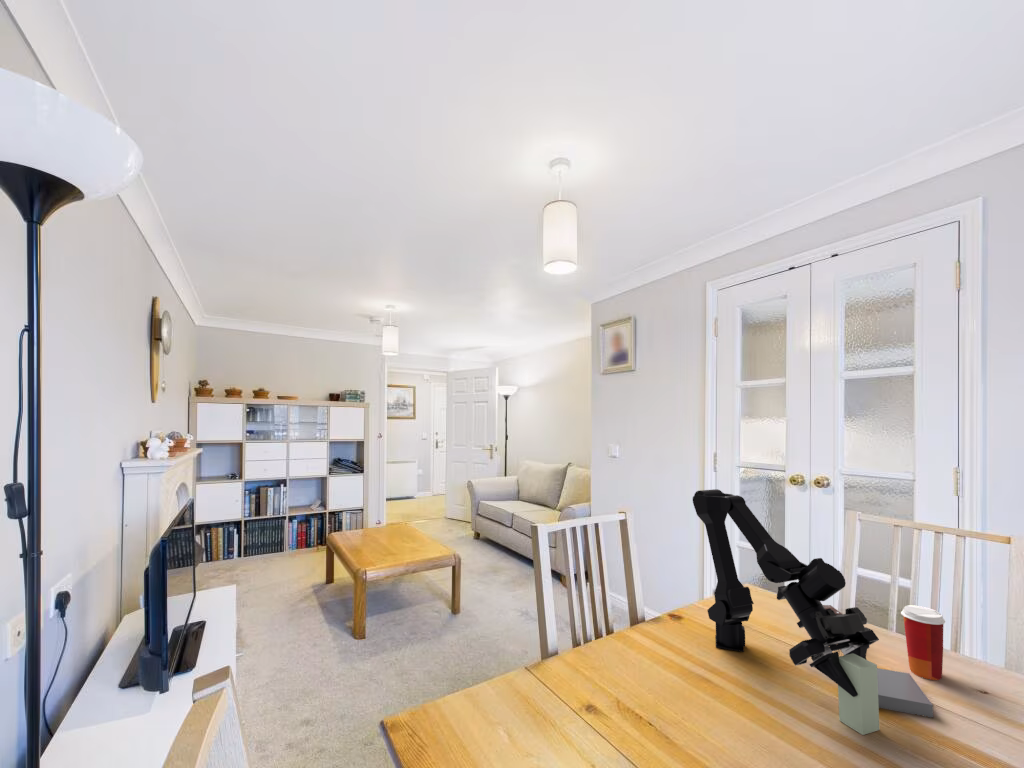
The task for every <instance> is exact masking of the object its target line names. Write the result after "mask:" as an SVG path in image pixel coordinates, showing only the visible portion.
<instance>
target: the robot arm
mask: <svg viewBox="0 0 1024 768" xmlns="http://www.w3.org/2000/svg"><path fill="white" fill-rule="evenodd" d="M692 503H693V508H694V511H695V512H696V516H697V517H698V518H699V519H700V520H701V521H702V523H704V526H705V530H706V535H707V539H708V543H709V548H710V551H711V556H712V562H713V565H714V570H715V574H716V579H717V583H716V586H715V589H714V604H712V605H711V606H710V607H709V608H708V609H707V614H708V619H709V620H711V621H713V622H715V635H714V636H715V639H714V640H715V648H717V649H718V648H719V649H724V650H730V651H734V652H740V653H741V652H743V653H744V652H745V649H744V648H745V647H746V628H745V626H744V625H743V622H749V619H750V615H751V613H752V612H753V611H754V610H753V605H754V604H755V603H754V601H753V600H752V595H751V589H750V587H749V586H744V585H743V584H742V582H741V581H740V580H739V578H738V574H737V568H736V566H735V561H734V556H733V552H732V548H731V544H730V539H729V535H728V531H727V527H726V519H727V516H729V517H730V519H731V520H732V522H734V524H735V525H736V527H737V528H738V530H739V531H740V532H741V534H742V535H743V536H744V538H745V539H746V540H747V542H748V543H749V544H750V546H751V547H752V549H753V550H754V552H755V554H756V563H757V564H758V567H759V568H760V570H761V571H762V574H763V576H764V577H765V578H766V580H768V581H769V582H771V583H774V584H780V583H786V582H787V583H788V582H789V583H788V584H787V585H780V586H777V593H776V599H777V601H781V600H786V601H787V603H788V604H789V606H790V608H791V609H792V610H793V612H794V613H795V616H796V617H797V618H798V620H799V621H798V622H796V624H797V626H798V628H799V629H802V628H804V629H805V631H806V632H807V634H808V635H809V637H810V638H809V639H805V640H801V641H800V642H798V643H797V644H796V645H794V646H792V647H791V648H789V649H788V651H789V657H790V660H791V661H792V663H793V664H794V666H795V667H797V666H800V665H805V664H807V663H808V660H809V658H811V661H812V662H811V663H810V664H809V666H810V667H811V668H815V669H816V670H818V671H819V672H820V673H822V674H823V675H825V676H826V677H827V678H828V679H830V680H831V681H833V682H834V683H835V684H836V685H837V686H838V685H839V686H840V687H841V688H843V689H844V690H845V691H846V692H848V693H849V694H850V695H851V696H853V697H856V696H858V693H857V691H856V690H855V688H854V686H853V684H852V682H851V681H850V679H849V678H848V676H847V674H846V673H845V671H844V669H843V668H842V666H841V664H840V662H839V657H840V654H839V651H841V652H842V654H843V656H844V655H848V654H852V653H854V654H856V655H858V656H860V657H862V658H864V659H866V660H867V651H868V649H870V646H871V645H873V644H874V643H876V642H879V640H880V639H879V637H878V636H877V634H876V633H875V631H874V630H873V629H871V628H869V627H865V625H867V623H868V618H867V617H866V616H865V614H864V613H863V612H862V610H860V608H859V607H858V606H856V607H849V608H845V613H842V614H841V615H836V614H835V613H834V611H833V610H831V609H830V608H829V609H825V608H824V606H823V605H824V604H822V602H825V601H827V600H829V599H830V598H831V597H832V596H834V595H836V594H837V593H838V592H839V591H841V590H844V588H845V587H846V583H847V582H846V578H845V577H844V575H843V574H842V572H841V571H840V570H838V569H837V568H836V567H834V566H833V565H831V564H830V563H827V562H825V561H824V560H823V558H822V557H819V558H813V559H812V560H811V561H810V562H809V563H808V564H806V563H803V562H802V561H800V560H799V559H798V558H797V557H796V556H795V555H794V554H793V553H792V552H791V551H790V550H789V549H788V548H787V547H786V546H783V545H781V544H780V543H778V542H776V541H775V539H774V538H772V536H771V534H770V533H769V532H768V531H767V529H766V528H765V527H764V526H763V524H762V523H761V522H760V520H759V519H758V518H757V517H756V515H755V514H754V513H753V512H752V510H751V509H750V508H749V506H748V505H747V504H746V500H745V498H744V497H742V496H740V495H734V494H732V493H724V492H723V491H722V490H720V489H701V490H697V491H695V493H694V495H693V496H692ZM791 581H792V582H791ZM797 581H798V582H797Z"/></svg>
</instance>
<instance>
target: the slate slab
mask: <svg viewBox="0 0 1024 768" xmlns="http://www.w3.org/2000/svg"><path fill="white" fill-rule="evenodd" d="M877 681H878V704H879V709H885V710H890V711H895V712H901V713H906V714H910V715H915V714H917V716H920V715H922V717H926V716H928V717H927V718H931V717H933V718H934V707H933V706H934V705H933V703H932V702H931V701H930V699H929V698H928V696H927V695H926V694H925V693H924V691H923V690H922V688H921V687H920V686H919V684H918V683H917V681H915V679H914V678H913V676H912V675H911V674H910V673H909V672H902V671H895V670H893V669H891V670H890V669H885V668H884V669H883V668H879V667H877ZM923 715H924V716H923Z"/></svg>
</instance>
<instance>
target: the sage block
mask: <svg viewBox="0 0 1024 768" xmlns="http://www.w3.org/2000/svg"><path fill="white" fill-rule="evenodd" d="M839 662H840V664H841V666H842V668H843V669H844V671H845V673H846V674H847V676H848V678H849V679H850V681H851V682H852V684H853V686H854V688H855V690H856V691H857V693H858V696H856V697H853V696H851V695H850V694H849V693H848V692H846V691H845V690H844V689H843V688H841V687H840V686H839V685H838V684H837V693H838V694H837V695H838V696H837V697H838V717H839V718H838V719H839V721H840V722H842V723H843V724H844V725H846V726H848V727H849V728H851V729H853V730H854V731H856V732H858V733H859V735H862V736H864V735H867V734H871V733H874V732H878V731H881V729H880V710H879V709H880V708H879V704H878V681H877V668H878V665H877V664H876V663H875V662H872V661H870V660H868V659H867V658H866V659H864V658H862V657H860V656H858V655H856V654H854V653H852V654H848V655H844V654H843V655H839Z"/></svg>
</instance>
